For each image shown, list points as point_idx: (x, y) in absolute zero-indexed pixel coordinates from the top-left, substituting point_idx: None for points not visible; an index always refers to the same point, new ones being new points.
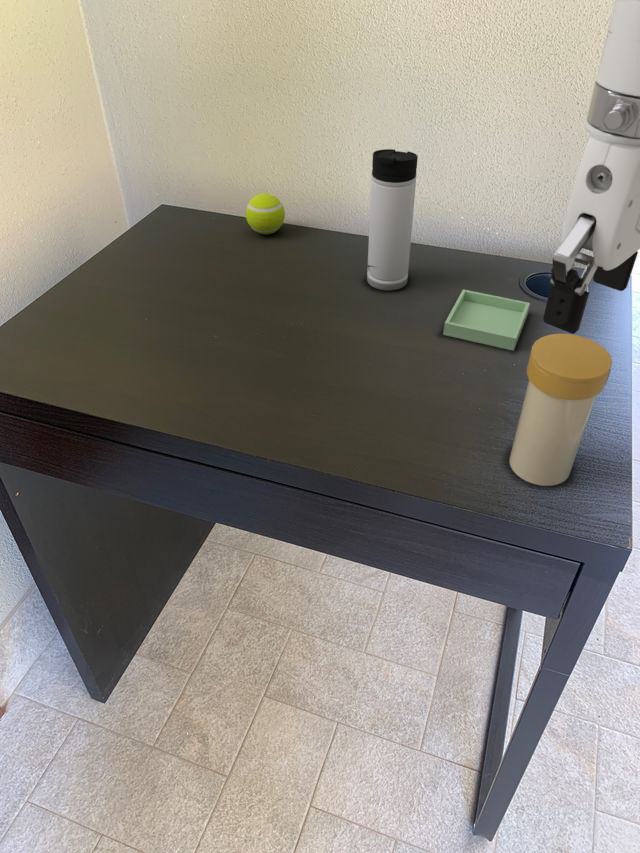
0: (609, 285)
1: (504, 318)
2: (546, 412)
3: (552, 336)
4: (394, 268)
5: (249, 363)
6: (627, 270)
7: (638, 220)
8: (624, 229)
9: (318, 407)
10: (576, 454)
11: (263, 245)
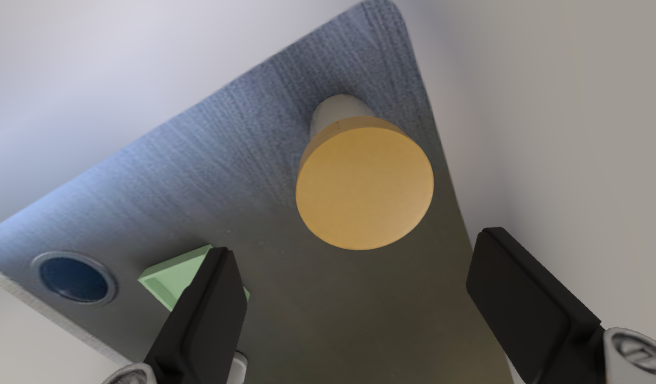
0: (237, 276)
1: (177, 277)
2: None
3: (336, 241)
4: (229, 375)
5: (401, 347)
6: (211, 298)
7: None
8: None
9: (411, 292)
10: (336, 100)
11: None
